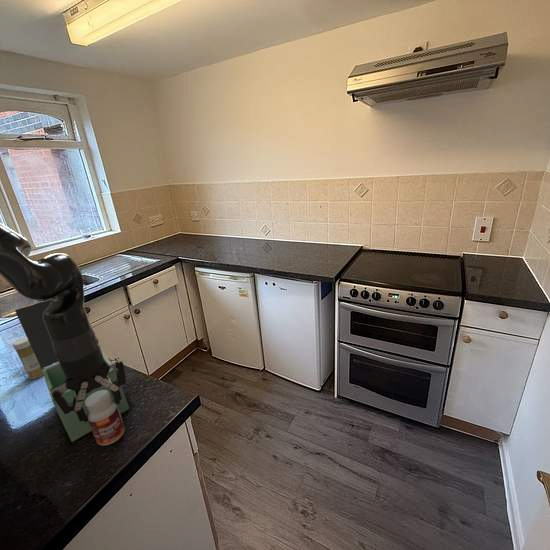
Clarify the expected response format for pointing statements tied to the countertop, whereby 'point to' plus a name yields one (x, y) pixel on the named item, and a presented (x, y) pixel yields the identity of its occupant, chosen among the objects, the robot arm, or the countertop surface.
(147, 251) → the countertop surface
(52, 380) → the mint green storage bin
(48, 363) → the pod lid
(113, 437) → the pill bottle
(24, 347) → the sprinkles bottle
